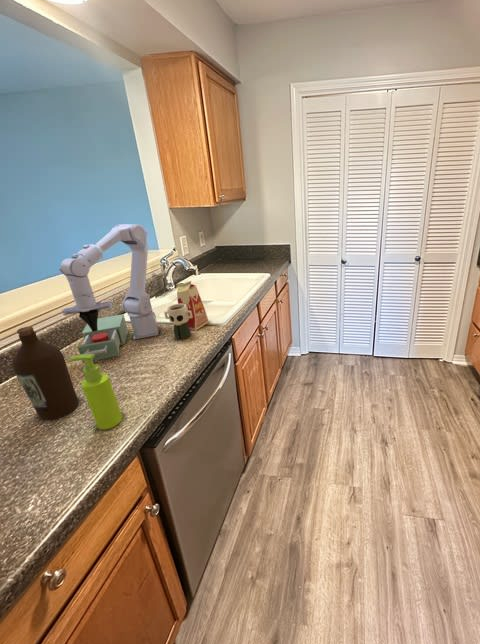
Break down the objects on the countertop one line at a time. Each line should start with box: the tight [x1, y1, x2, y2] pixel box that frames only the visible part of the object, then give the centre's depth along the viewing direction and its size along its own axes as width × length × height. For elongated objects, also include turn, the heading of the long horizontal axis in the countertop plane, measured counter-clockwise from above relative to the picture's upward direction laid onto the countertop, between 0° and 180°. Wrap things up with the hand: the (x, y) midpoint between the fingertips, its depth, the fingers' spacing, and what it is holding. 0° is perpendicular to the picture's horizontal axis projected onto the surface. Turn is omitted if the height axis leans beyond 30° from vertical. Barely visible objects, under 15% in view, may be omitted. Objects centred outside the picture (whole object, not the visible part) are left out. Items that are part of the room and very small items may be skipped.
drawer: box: [77, 329, 121, 363], centre depth 117 cm, size 17×11×6 cm, turn 21°
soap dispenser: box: [67, 353, 123, 430], centre depth 81 cm, size 6×7×20 cm
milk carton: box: [175, 280, 210, 331], centre depth 136 cm, size 9×9×20 cm
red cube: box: [92, 333, 109, 343], centre depth 119 cm, size 5×5×5 cm
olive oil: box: [12, 326, 79, 421], centre depth 86 cm, size 11×11×25 cm
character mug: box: [163, 303, 193, 340], centre depth 128 cm, size 11×7×13 cm, turn 89°
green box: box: [81, 314, 129, 346], centre depth 129 cm, size 14×13×8 cm
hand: (95, 330), depth 114 cm, fingers closed
